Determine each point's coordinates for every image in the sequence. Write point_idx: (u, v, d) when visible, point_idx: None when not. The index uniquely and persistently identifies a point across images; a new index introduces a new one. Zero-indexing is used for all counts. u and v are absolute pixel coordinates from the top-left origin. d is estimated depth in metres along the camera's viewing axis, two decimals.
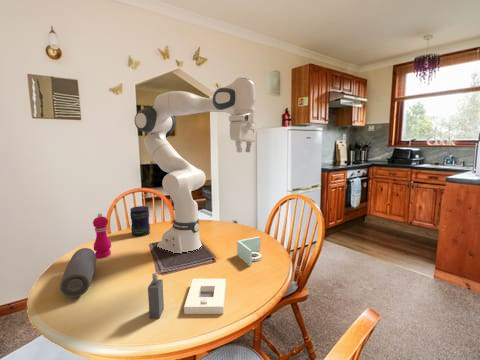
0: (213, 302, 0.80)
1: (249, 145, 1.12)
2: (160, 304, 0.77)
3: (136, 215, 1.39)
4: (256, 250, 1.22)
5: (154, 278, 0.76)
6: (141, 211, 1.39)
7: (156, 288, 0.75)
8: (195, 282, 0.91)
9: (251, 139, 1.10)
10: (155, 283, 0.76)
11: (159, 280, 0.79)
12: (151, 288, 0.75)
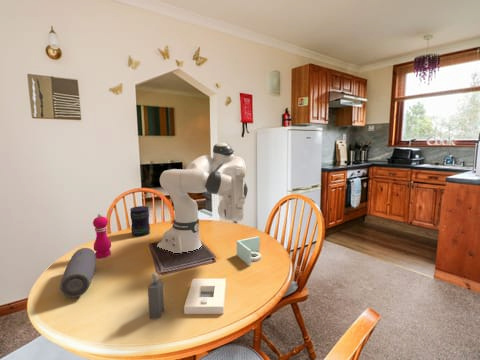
0: (213, 302, 0.80)
1: None
2: (160, 304, 0.77)
3: (136, 215, 1.39)
4: (255, 250, 1.23)
5: (154, 278, 0.76)
6: (141, 211, 1.39)
7: (156, 288, 0.75)
8: (195, 282, 0.91)
9: (234, 181, 0.96)
10: (155, 283, 0.76)
11: (159, 280, 0.79)
12: (151, 288, 0.75)
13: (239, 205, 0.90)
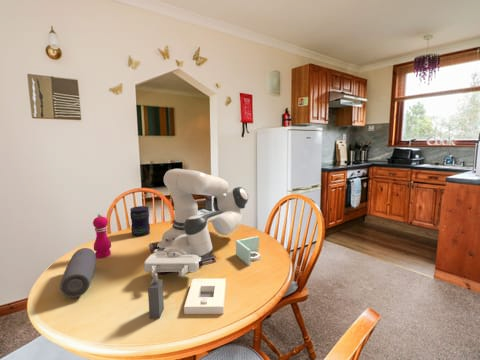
0: (213, 302, 0.80)
1: None
2: (160, 304, 0.77)
3: (136, 215, 1.39)
4: (255, 249, 1.23)
5: (154, 278, 0.76)
6: (141, 211, 1.39)
7: (156, 288, 0.75)
8: (195, 282, 0.91)
9: (182, 262, 0.95)
10: (155, 283, 0.76)
11: (159, 280, 0.79)
12: (151, 288, 0.75)
13: (152, 269, 0.92)
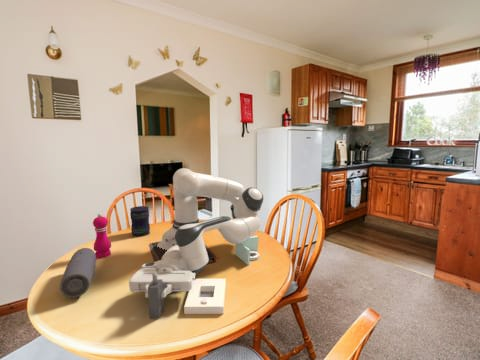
0: (213, 302, 0.80)
1: None
2: (160, 304, 0.77)
3: (136, 215, 1.39)
4: (254, 249, 1.23)
5: (154, 278, 0.76)
6: (141, 211, 1.39)
7: (156, 288, 0.75)
8: (195, 282, 0.91)
9: (172, 280, 0.82)
10: (155, 283, 0.76)
11: (159, 280, 0.79)
12: (151, 288, 0.75)
13: (146, 289, 0.80)
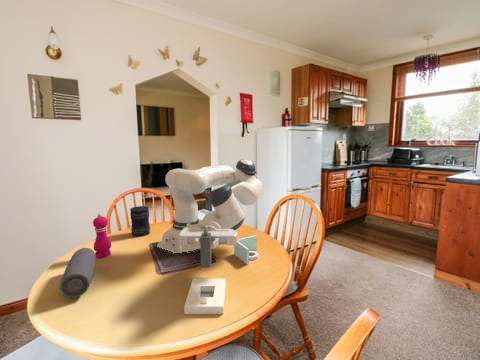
0: (213, 302, 0.80)
1: None
2: (210, 254, 0.83)
3: (136, 215, 1.39)
4: (253, 249, 1.24)
5: (205, 229, 0.82)
6: (141, 211, 1.39)
7: (208, 238, 0.81)
8: (195, 282, 0.91)
9: (219, 234, 0.88)
10: (206, 234, 0.82)
11: (208, 233, 0.84)
12: (203, 238, 0.81)
13: (195, 241, 0.85)
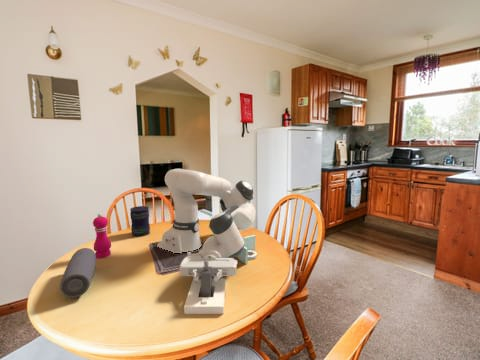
0: (213, 302, 0.80)
1: None
2: None
3: (136, 215, 1.39)
4: (251, 248, 1.24)
5: (206, 265, 0.84)
6: (141, 211, 1.39)
7: (208, 274, 0.83)
8: (195, 282, 0.91)
9: (219, 265, 0.90)
10: (206, 269, 0.84)
11: (209, 267, 0.86)
12: (204, 274, 0.82)
13: (193, 273, 0.87)
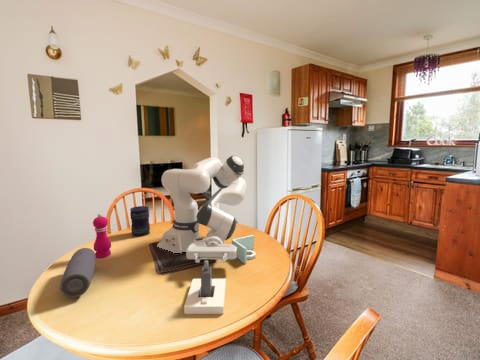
0: (213, 302, 0.80)
1: None
2: None
3: (136, 215, 1.39)
4: (250, 248, 1.24)
5: (206, 265, 0.84)
6: (141, 211, 1.39)
7: (208, 274, 0.83)
8: (195, 282, 0.91)
9: (221, 250, 1.02)
10: (206, 269, 0.84)
11: (209, 267, 0.86)
12: (204, 274, 0.82)
13: (194, 256, 1.00)
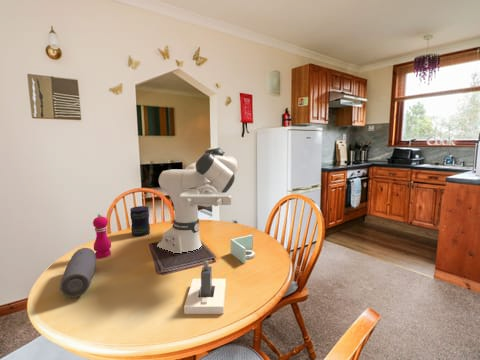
0: (213, 302, 0.80)
1: None
2: None
3: (136, 215, 1.39)
4: (249, 248, 1.25)
5: (206, 265, 0.84)
6: (141, 211, 1.39)
7: (208, 274, 0.83)
8: (195, 282, 0.91)
9: (215, 195, 0.98)
10: (206, 269, 0.84)
11: (209, 267, 0.86)
12: (204, 274, 0.82)
13: (187, 201, 0.95)
